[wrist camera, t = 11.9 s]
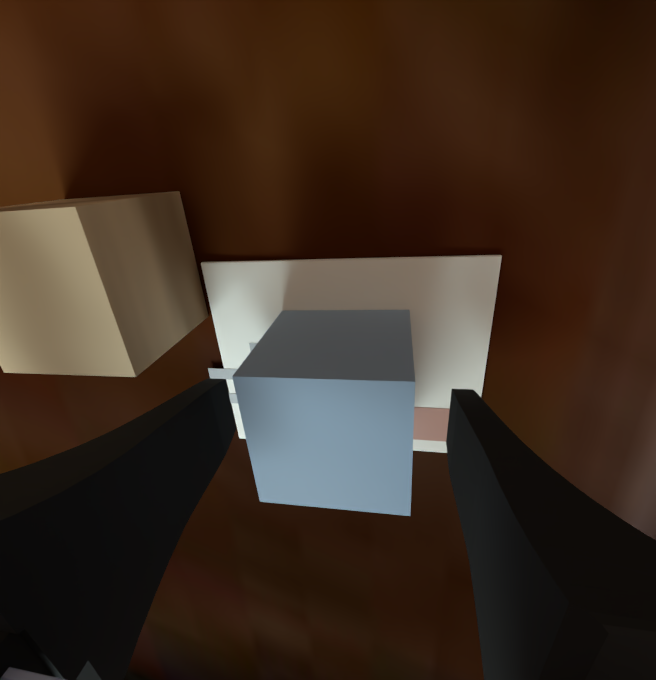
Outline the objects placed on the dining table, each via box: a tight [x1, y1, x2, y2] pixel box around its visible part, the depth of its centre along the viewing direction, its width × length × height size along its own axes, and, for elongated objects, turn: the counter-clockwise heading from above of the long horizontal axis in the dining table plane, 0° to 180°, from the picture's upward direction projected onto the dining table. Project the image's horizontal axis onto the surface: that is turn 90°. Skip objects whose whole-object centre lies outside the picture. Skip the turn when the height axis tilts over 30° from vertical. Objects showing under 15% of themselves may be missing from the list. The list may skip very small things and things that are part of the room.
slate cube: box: [232, 310, 415, 516], centre depth 12 cm, size 4×4×4 cm
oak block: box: [0, 191, 208, 377], centre depth 11 cm, size 4×4×4 cm
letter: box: [201, 255, 502, 453], centre depth 14 cm, size 11×8×1 cm
